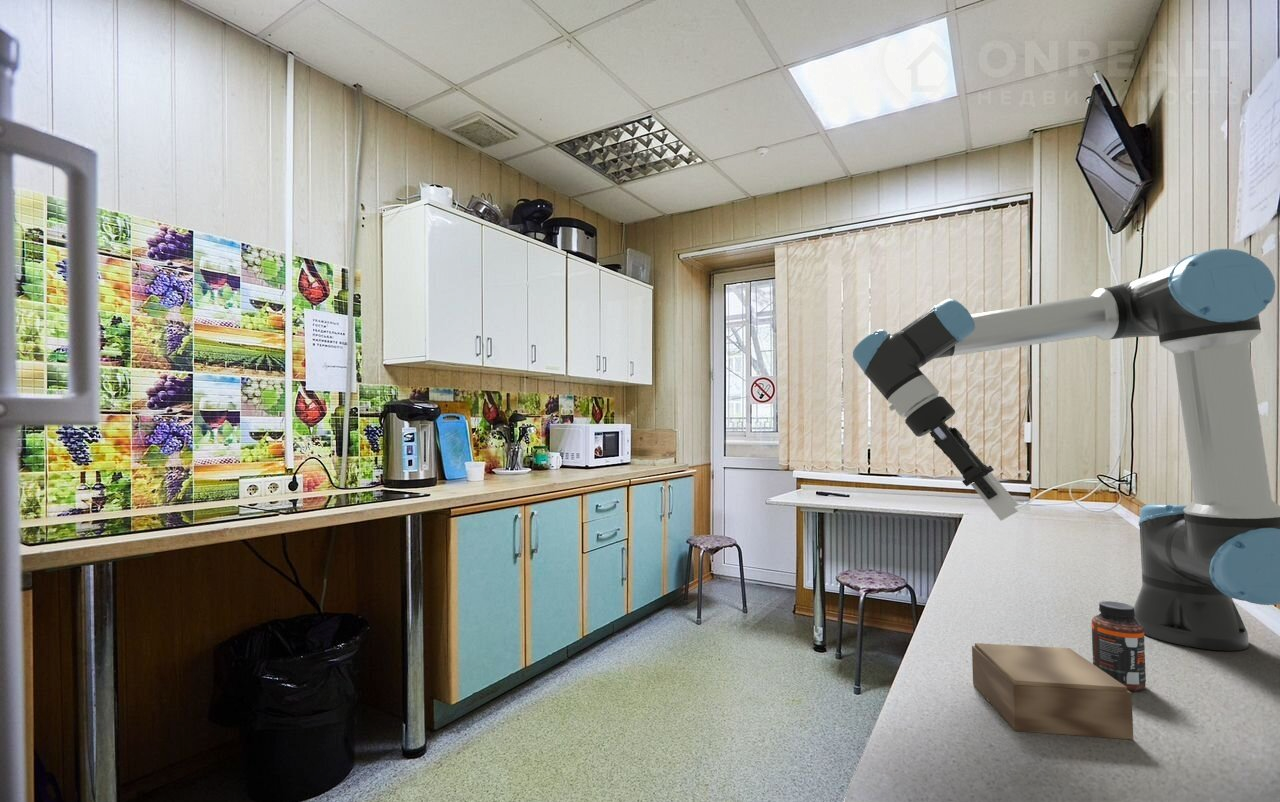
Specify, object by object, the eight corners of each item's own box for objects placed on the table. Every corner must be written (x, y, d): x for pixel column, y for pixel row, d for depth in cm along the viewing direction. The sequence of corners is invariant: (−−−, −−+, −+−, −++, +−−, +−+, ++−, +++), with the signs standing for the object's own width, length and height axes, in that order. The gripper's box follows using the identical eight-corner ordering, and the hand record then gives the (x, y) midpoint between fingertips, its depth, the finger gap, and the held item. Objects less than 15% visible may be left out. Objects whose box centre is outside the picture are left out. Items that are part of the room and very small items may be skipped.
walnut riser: (1071, 690, 82) (1070, 647, 83) (1133, 739, 70) (1131, 688, 70) (972, 684, 85) (971, 642, 85) (1014, 730, 72) (1013, 681, 72)
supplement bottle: (1150, 696, 80) (1147, 613, 81) (1096, 686, 84) (1093, 606, 84) (1141, 680, 86) (1138, 602, 86) (1090, 671, 89) (1088, 596, 89)
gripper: (914, 423, 113) (992, 517, 105) (889, 416, 92) (984, 533, 84) (948, 399, 110) (1031, 494, 102) (931, 387, 90) (1033, 505, 81)
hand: (1010, 512), depth 93 cm, fingers open, 13 cm apart
